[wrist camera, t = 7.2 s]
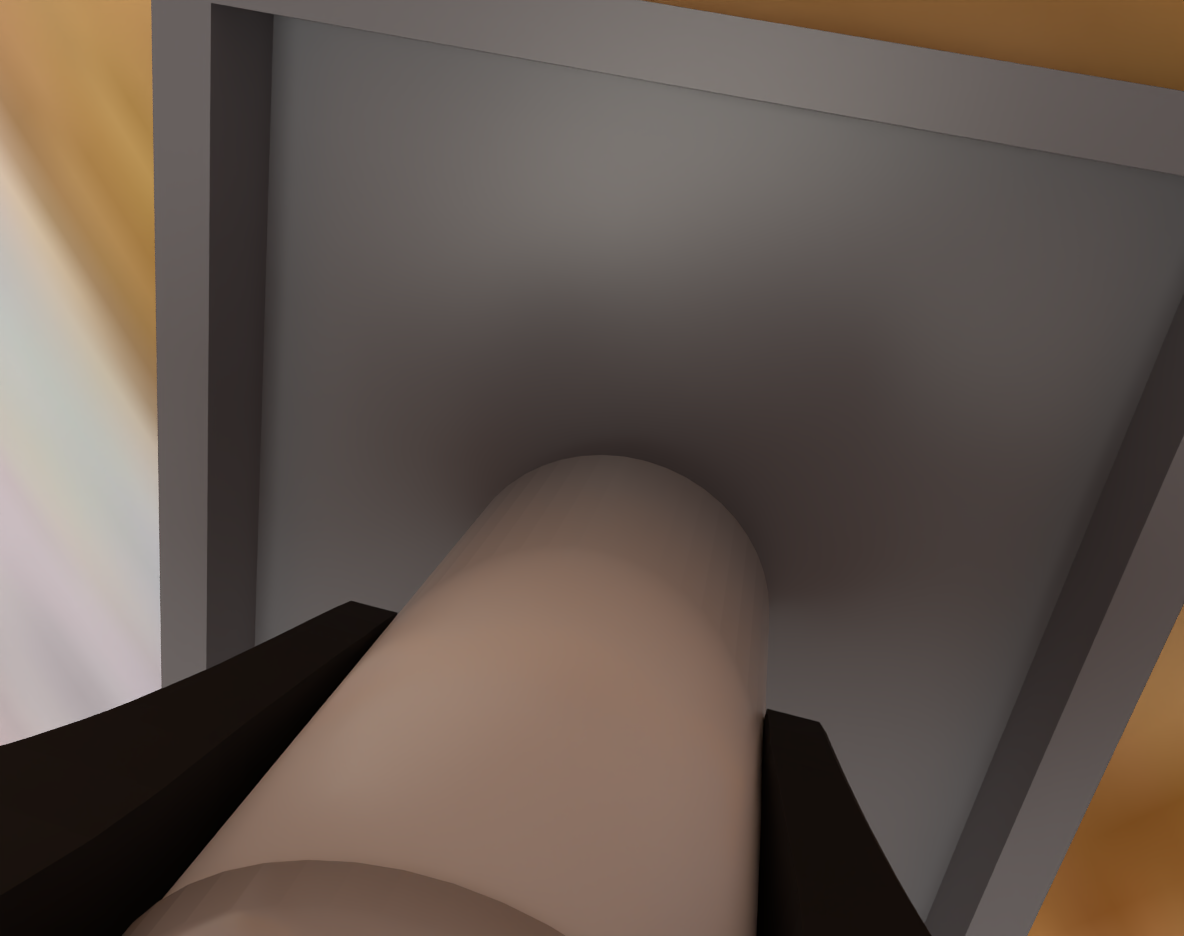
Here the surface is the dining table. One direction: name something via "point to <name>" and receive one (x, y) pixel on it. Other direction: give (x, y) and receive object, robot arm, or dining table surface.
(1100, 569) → the tray
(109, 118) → the dining table surface
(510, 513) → the salt shaker
